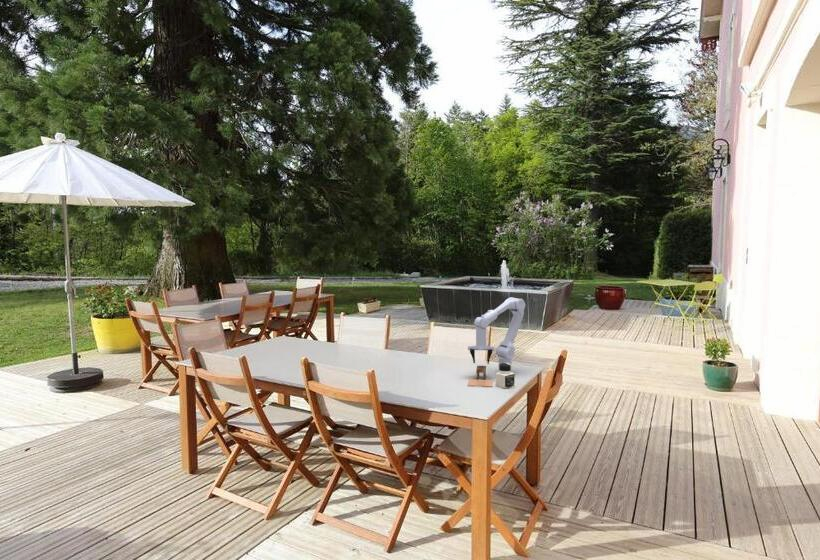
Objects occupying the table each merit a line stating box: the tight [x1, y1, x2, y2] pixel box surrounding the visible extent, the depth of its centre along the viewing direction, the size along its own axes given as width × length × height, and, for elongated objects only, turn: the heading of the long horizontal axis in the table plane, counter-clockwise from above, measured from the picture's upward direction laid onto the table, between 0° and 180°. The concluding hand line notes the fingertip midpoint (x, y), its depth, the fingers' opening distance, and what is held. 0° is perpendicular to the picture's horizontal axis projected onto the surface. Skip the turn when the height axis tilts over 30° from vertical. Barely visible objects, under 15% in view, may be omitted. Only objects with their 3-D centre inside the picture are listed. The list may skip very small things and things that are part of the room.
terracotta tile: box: [467, 379, 494, 388], centre depth 282 cm, size 11×13×1 cm
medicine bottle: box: [495, 363, 515, 390], centre depth 277 cm, size 7×7×12 cm
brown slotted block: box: [475, 365, 487, 380], centre depth 293 cm, size 5×8×6 cm, turn 170°
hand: (481, 363), depth 292 cm, fingers open, 7 cm apart
